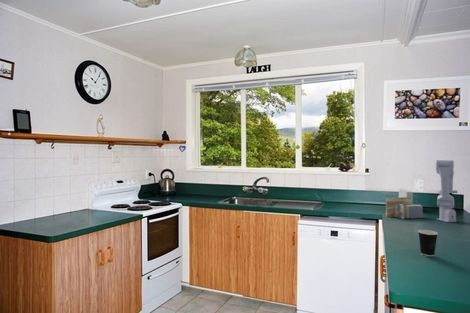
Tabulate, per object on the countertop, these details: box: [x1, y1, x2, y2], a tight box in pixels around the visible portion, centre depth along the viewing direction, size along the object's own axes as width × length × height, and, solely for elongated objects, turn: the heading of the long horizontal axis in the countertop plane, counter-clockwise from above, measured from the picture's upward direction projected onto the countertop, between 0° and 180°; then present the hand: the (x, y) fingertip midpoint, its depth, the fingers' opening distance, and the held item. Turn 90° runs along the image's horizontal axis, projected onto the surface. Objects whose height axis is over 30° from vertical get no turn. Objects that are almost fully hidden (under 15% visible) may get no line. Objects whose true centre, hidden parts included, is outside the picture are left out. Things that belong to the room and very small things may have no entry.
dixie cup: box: [417, 229, 439, 256], centre depth 143 cm, size 8×8×11 cm
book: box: [404, 204, 423, 219], centre depth 229 cm, size 4×12×9 cm, turn 101°
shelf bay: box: [385, 197, 411, 220], centre depth 229 cm, size 9×20×14 cm, turn 101°
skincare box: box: [398, 188, 414, 205], centre depth 264 cm, size 21×6×16 cm, turn 168°
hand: (447, 203), depth 231 cm, fingers closed
